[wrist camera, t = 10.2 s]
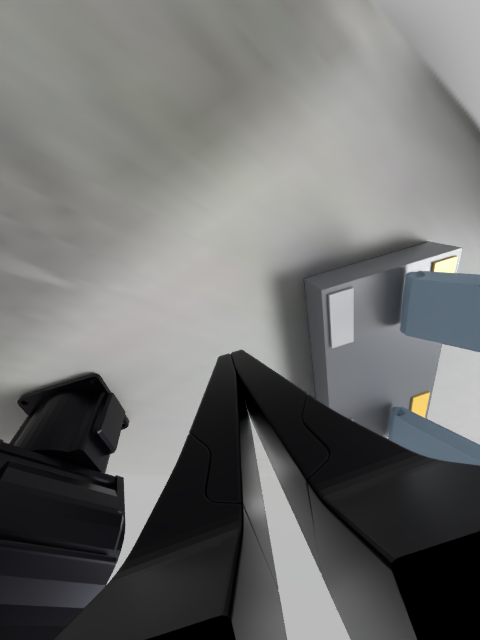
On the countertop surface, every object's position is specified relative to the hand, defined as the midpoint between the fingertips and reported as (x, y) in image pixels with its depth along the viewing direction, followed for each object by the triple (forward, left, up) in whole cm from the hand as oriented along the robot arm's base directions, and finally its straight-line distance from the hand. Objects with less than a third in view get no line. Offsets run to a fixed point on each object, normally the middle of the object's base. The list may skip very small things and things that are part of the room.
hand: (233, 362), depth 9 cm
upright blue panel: (+15, -21, -8) cm, 27 cm away
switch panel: (+14, -14, -12) cm, 23 cm away
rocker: (+15, -6, -8) cm, 18 cm away
